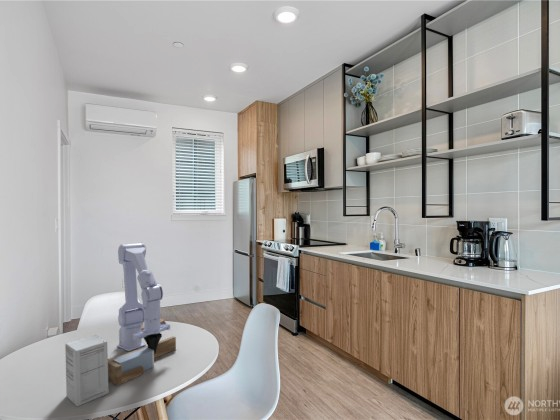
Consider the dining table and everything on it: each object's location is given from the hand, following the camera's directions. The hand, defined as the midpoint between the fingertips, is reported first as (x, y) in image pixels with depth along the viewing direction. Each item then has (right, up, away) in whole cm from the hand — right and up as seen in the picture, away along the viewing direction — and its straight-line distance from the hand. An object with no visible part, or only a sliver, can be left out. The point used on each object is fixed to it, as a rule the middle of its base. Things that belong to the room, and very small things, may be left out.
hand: (152, 353), depth 128 cm
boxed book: (-4, -4, -7) cm, 9 cm away
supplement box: (-12, -4, -22) cm, 25 cm away
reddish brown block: (-16, -4, +33) cm, 37 cm away
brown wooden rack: (-1, -4, -2) cm, 4 cm away
